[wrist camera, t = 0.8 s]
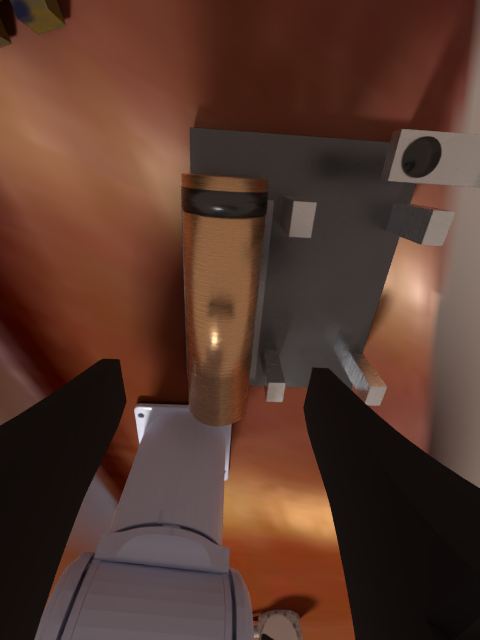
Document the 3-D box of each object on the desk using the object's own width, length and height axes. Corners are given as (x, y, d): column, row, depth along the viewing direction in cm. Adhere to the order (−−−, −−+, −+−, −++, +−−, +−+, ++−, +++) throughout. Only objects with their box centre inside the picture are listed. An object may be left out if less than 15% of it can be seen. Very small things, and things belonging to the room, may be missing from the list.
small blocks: (358, 370, 21) (379, 405, 18) (261, 366, 21) (266, 401, 17) (411, 203, 15) (455, 211, 12) (282, 195, 15) (293, 201, 12)
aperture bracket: (416, 183, 15) (520, 189, 10) (335, 178, 15) (393, 181, 9) (426, 150, 14) (544, 137, 9) (341, 144, 14) (408, 127, 9)
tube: (247, 385, 21) (247, 429, 18) (194, 381, 21) (182, 424, 18) (267, 178, 15) (272, 180, 11) (190, 173, 15) (170, 173, 11)
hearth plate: (346, 380, 23) (353, 393, 21) (190, 374, 22) (187, 387, 21) (417, 146, 15) (434, 144, 14) (183, 129, 15) (178, 125, 13)
